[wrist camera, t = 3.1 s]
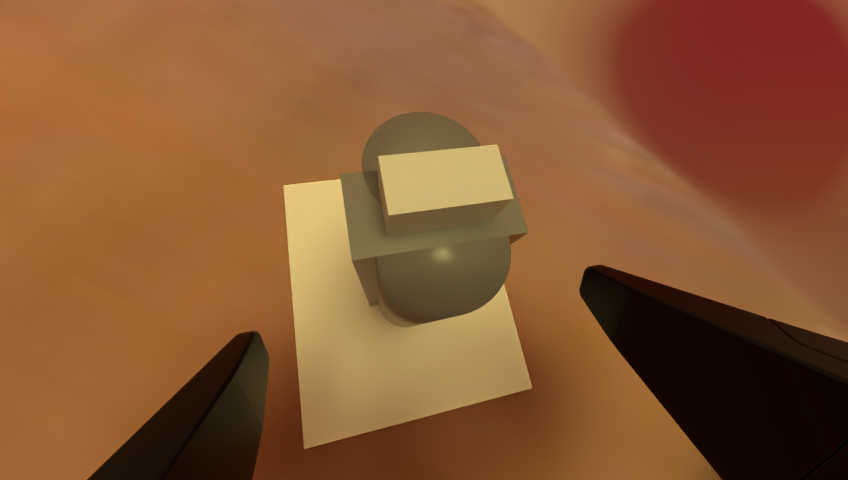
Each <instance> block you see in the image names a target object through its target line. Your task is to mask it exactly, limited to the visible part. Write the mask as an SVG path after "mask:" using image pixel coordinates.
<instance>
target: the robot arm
mask: <svg viewBox="0 0 848 480" xmlns="http://www.w3.org/2000/svg"><path fill="white" fill-rule="evenodd" d="M579 290H580V295H581V297H582V299H583V300H584V302H585V303H586V305H587V306H588V308H589V309H590V311H591V312H592V314H593V315H594V317H595V318H596V320H597V321H598V323H599V324H600V326H601V327H602V329H603V330H604V332H605V333H606V335H607V336H608V338H609V339H610V341H611V342H612V343H613V345H614V346H615V347H616V348H617V350H618V351H619V352H620V353H621V355H622V356H623V357H624V358H625V360H626V361H627V362H628V363H629V365H630V366H631V367H632V368H633V370H634V371H635V372H636V373H637V374H638V376H639V377H640V378H641V379H642V381H643V382H644V383H645V384H646V386H647V387H648V388H649V389H650V391H651V392H652V393H653V394H654V396H655V397H656V398H657V399H658V401H659V402H660V403H661V404H662V406H663V407H664V408H665V409H666V411H667V412H668V413H669V414H670V415H671V417H672V418H673V419H674V420H675V422H676V423H677V424H678V425H679V427H680V428H681V429H682V430H683V432H684V433H685V434H686V435H687V437H688V438H689V439H690V440H691V442H692V443H693V444H694V445H695V447H696V448H697V449H698V450H699V452H700V453H701V454H702V455H703V456H704V458H705V459H706V460H707V461H708V463H709V464H710V465H711V466H712V468H713V469H714V470H715V471H716V473H717V474H718V475H719V476H720V478H721V479H722V480H848V342H845V341H841V340H838V339H834V338H831V337H827V336H824V335H821V334H818V333H814V332H811V331H808V330H805V329H802V328H798V327H795V326H792V325H789V324H786V323H782V322H779V321H776V320H773V319H767V318H766V317H763V316H760V315H757V314H754V313H751V312H748V311H745V310H742V309H738V308H735V307H732V306H729V305H726V304H723V303H720V302H716V301H713V300H710V299H707V298H704V297H701V296H698V295H695V294H691V293H688V292H685V291H682V290H679V289H676V288H673V287H669V286H666V285H663V284H660V283H657V282H654V281H651V280H648V279H644V278H641V277H638V276H635V275H632V274H629V273H626V272H622V271H619V270H616V269H613V268H610V267H607V266H604V265H594V266H589V267H587V268H586V269H585V271H584V274H583V277H582V281H581V285H580V289H579ZM268 370H269V355H268V352H267V350H266V348H265V345H264V343H263V341H262V338H261V336H260V334H259V333H258V332H257V331H250V332H244V333H240V334H238V335H236V336H235V337H234V338H233V339H232V340H231V341H230V342H229V343H228V344H227V345H226V346H225V347H224V348H222V349H221V350H220V351H219V352H218V353H217V354H216V355H215V356H214V357H213V358H212V359H211V360H210V361H209V362H208V363H207V364H206V365H205V366H204V367H203V368H202V369H201V370H200V371H199V372H198V373H197V374H196V375H195V376H194V377H193V378H192V379H190V380H189V381H188V382H187V383H186V384H185V385H184V386H183V387H182V388H181V389H180V390H179V391H178V392H177V393H176V394H175V395H174V396H173V397H172V398H171V399H170V400H169V401H168V402H167V403H166V404H165V405H164V406H163V407H162V408H161V409H160V410H158V411H157V412H156V413H155V414H154V415H153V416H152V417H151V418H150V419H149V420H148V421H147V422H146V423H145V424H144V425H143V426H142V427H141V428H140V429H139V430H138V431H137V432H136V433H135V434H134V435H133V436H132V437H131V438H130V439H129V440H128V441H126V442H125V443H124V444H123V445H122V446H121V447H120V448H119V449H118V450H117V451H116V452H115V453H114V454H113V455H112V456H111V457H110V458H109V459H108V460H107V461H106V462H105V463H104V464H103V465H102V466H101V467H100V468H99V469H98V470H97V471H96V472H95V473H93V474H92V475H91V476H90V477H89V478H88V479H87V480H252V478H253V473H254V468H255V463H256V459H257V454H258V449H259V444H260V440H261V434H262V429H263V421H264V412H265V402H266V391H267V381H268Z"/></svg>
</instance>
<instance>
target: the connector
mask: <svg viewBox="0 0 848 480" xmlns="http://www.w3.org/2000/svg"><path fill="white" fill-rule="evenodd" d="M362 171H363V172H356V173H346V174H340V178H341V186H342V193H343V200H344V208H345V215H346V222H347V230H348V237H349V244H350V252H351V259H352V262H353V265H354V267H355V270H356V272H357V275H358V277H359V280H360V282H361V285H362V287H363V290H364V292H365V295H366V297H367V300H368V302H369V305H370V306H375V305H379V306H380V310H381V312H382V314H383V316H384V317H385V318H386V319H387V320H388V321H389V322H390V323H392V324H394V325H396V326H399V327H412V326H416V325H420V324H425V323H429V322H434V321H438V320H443V319H447V318H451V317H456V316H460V315H464V314H467V313H471V312H473V311H475V310H477V309H479V308H481V307H482V306H484V305H486V304H487V303H488V302H489V301H490V300H492V299H493V298H494V296H495V295H496V294H497V293H498V292H499V290H500V289H501V287H502V286H503V284H504V282H505V280H506V278H507V275H508V272H509V268H510V262H511V246H510V245H511V244H512V243H514V242H515V241H517V240H518V239H520V238H521V237H522V236H524V235H525V234H527V233H528V229H527V226H526V223H525V220H524V216H523V213H522V210H521V207H520V204H519V200H518V197H517V194H516V191H515V187H514V184H513V181H512V178H511V174H510V171H509V168H508V165H507V161H506V158H505V157H501V155H500V152H499V149H498V145H488V146H480V144H479V143H478V141H477V140H476V138H475V137H474V136H473V135H472V134H471V133H470V132H469V131H468V130H467V129H466V128H464V127H463V126H462V125H460V124H459V123H457V122H455V121H454V120H452V119H449V118H447V117H445V116H441V115H438V114H434V113H427V112H413V113H406V114H402V115H399V116H396V117H393V118H391V119H390V120H388V121H386V122H385V123H383V124H382V125H380V126H379V127H378V128H377V129H376V130H375V131H374V132H373V134H372V135H371V136H370V138H369V140H368V141H367V143H366V146H365V148H364V152H363V156H362Z"/></svg>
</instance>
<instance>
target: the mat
mask: <svg viewBox="0 0 848 480" xmlns="http://www.w3.org/2000/svg"><path fill="white" fill-rule="evenodd" d="M284 198H285V210H286V223H287V236H288V249H289V262H290V274H291V287H292V300H293V313H294V326H295V338H296V351H297V364H298V377H299V390H300V402H301V415H302V428H303V441H304V449H307V448H310V447H314V446H318V445H322V444H325V443H329V442H333V441H337V440H340V439H344V438H348V437H352V436H355V435H359V434H363V433H367V432H370V431H374V430H378V429H382V428H385V427H389V426H393V425H397V424H400V423H404V422H408V421H412V420H415V419H419V418H423V417H427V416H430V415H434V414H438V413H442V412H445V411H449V410H453V409H456V408H460V407H464V406H468V405H471V404H475V403H479V402H483V401H486V400H490V399H494V398H498V397H501V396H505V395H509V394H513V393H516V392H520V391H524V390H528V389H531V388H532V385H531V381H530V377H529V374H528V370H527V366H526V363H525V359H524V355H523V352H522V348H521V344H520V340H519V337H518V333H517V329H516V326H515V322H514V318H513V315H512V311H511V307H510V304H509V300H508V296H507V293H506V289H505V285H504V284H503V286H502V287H501V289H500V290H499V292H498V293H497V294H496V295H495V296H494V298H493V299H492V300H490V301H489V302H488V303H487V304H486V305H484V306H482V307H481V308H479V309H477V310H475V311H473V312H471V313H467V314H464V315H460V316H456V317H451V318H447V319H443V320H438V321H434V322H429V323H425V324H420V325H416V326H412V327H399V326H396V325H394V324H392V323H390V322H389V321H388V320H387V319H386V318H385V317H384V316H383V314H382V312H381V310H380V306H379V305H375V306H370V305H369V302H368V300H367V297H366V295H365V292H364V290H363V287H362V285H361V282H360V280H359V277H358V275H357V272H356V270H355V267H354V265H353V262H352V259H351V252H350V244H349V237H348V230H347V222H346V215H345V208H344V200H343V193H342V186H341V179H338V180H329V181H319V182H310V183H301V184H292V185H284Z"/></svg>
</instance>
